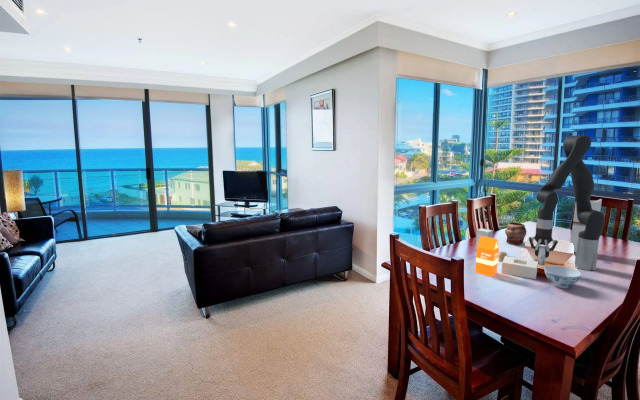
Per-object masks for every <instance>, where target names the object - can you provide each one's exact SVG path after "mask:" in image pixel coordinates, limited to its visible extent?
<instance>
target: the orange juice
mask: <svg viewBox="0 0 640 400" xmlns="http://www.w3.org/2000/svg"><path fill="white" fill-rule="evenodd" d="M499 252H500V246H499V240H498V238H494V237H493V238H489V237H484V236H481V237H480V240H479V243H478V246H477V251H476V258H475V270H474V272H475V274H481V275H484V276H488V277H492V278H493V276H495V275H496V274H497V273H498V266H499Z"/></svg>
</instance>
